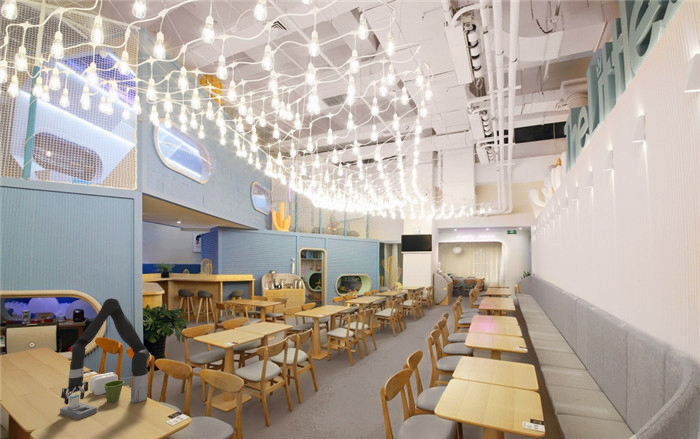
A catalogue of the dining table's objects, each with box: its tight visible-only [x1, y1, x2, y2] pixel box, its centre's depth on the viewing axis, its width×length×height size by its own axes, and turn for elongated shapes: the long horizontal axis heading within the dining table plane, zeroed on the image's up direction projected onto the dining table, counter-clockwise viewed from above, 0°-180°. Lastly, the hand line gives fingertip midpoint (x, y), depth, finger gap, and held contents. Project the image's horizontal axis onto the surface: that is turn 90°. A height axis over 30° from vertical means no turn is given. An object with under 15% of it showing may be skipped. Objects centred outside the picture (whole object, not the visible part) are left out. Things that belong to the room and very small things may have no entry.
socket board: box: [59, 402, 98, 420], centre depth 218 cm, size 20×10×3 cm, turn 67°
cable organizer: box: [89, 371, 119, 396], centre depth 252 cm, size 15×11×12 cm
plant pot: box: [104, 379, 125, 403], centre depth 237 cm, size 12×12×11 cm
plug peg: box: [68, 393, 80, 409], centre depth 220 cm, size 4×4×10 cm
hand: (74, 401), depth 220 cm, fingers open, 8 cm apart
